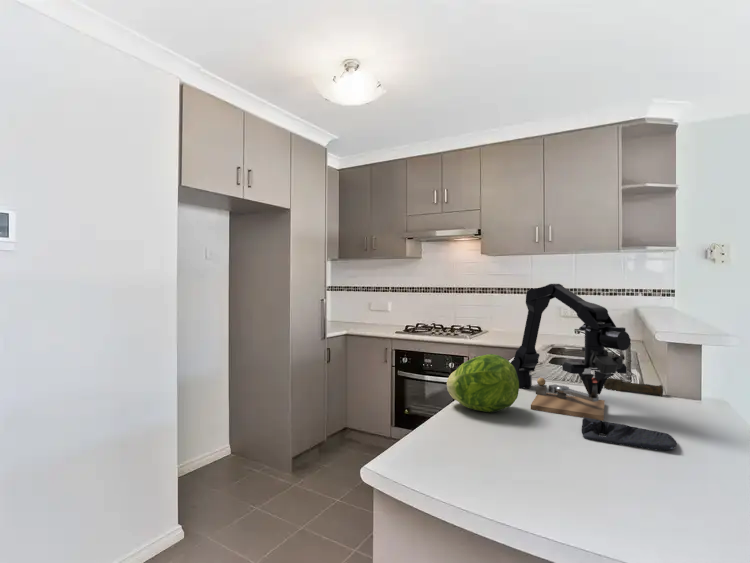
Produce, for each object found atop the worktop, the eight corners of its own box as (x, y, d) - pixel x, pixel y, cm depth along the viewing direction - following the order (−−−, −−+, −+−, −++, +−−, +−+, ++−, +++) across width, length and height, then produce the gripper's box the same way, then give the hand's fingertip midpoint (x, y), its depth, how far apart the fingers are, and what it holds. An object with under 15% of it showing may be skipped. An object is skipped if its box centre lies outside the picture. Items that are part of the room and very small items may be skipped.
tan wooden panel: (529, 409, 138) (529, 386, 137) (537, 395, 153) (537, 375, 153) (603, 420, 127) (603, 396, 127) (604, 404, 143) (604, 383, 143)
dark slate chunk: (677, 460, 101) (678, 440, 101) (577, 439, 113) (578, 422, 113) (675, 439, 114) (675, 422, 114) (585, 423, 126) (585, 407, 126)
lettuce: (463, 397, 152) (452, 349, 151) (529, 396, 140) (518, 344, 138) (444, 422, 136) (431, 369, 135) (517, 424, 124) (504, 365, 122)
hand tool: (662, 395, 156) (662, 382, 156) (663, 397, 152) (663, 385, 152) (604, 387, 166) (604, 376, 165) (603, 390, 162) (604, 378, 162)
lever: (547, 391, 148) (547, 367, 148) (556, 390, 150) (556, 366, 150) (592, 405, 133) (592, 379, 132) (601, 403, 135) (601, 377, 134)
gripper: (582, 349, 125) (581, 402, 125) (640, 349, 127) (639, 400, 127) (561, 344, 136) (561, 392, 136) (615, 344, 138) (614, 391, 138)
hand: (593, 394), depth 134 cm, fingers open, 3 cm apart
